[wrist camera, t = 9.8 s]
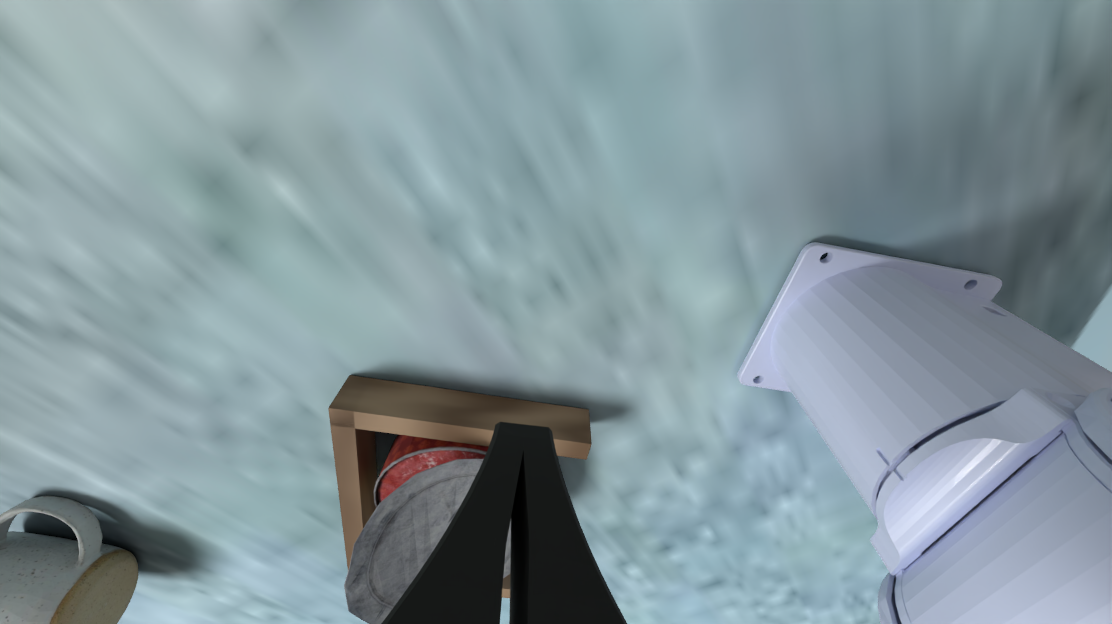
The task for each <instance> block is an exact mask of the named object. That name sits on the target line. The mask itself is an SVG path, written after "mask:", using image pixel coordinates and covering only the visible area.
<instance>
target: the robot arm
mask: <svg viewBox="0 0 1112 624" xmlns="http://www.w3.org/2000/svg"><path fill="white" fill-rule="evenodd" d="M825 253H828V255H827V256H826V257H825V258H824V259H822V260H820V257H821V256H822V255H823V254H825ZM968 281H969V282H968ZM967 282H968V283H967ZM966 283H967V284H966ZM965 284H966V285H965ZM1001 287H1002V281H1001V279H999V278H997V277H995V276H993V275H988V274H983V273H978V272H972V271H967V270H962V269H956V268H951V267H946V266H940V265H935V264H930V263H924V262H919V261H914V260H908V259H903V258H898V257H892V256H887V255H882V254H876V253H871V252H866V251H860V250H855V249H850V248H844V247H839V246H834V245H828V244H823V243H818V242H813V243H810V244H807V245H806V246H805V247H804V248H803V249H802V250H801V252H800V254H799V256H798V258H797V260H796V262H795V264H794V266H793V267H792V269H791V271H790V273H789V275H788V277H787V279H786V281H785V283H784V285H783V287H782V289H781V291H780V292H779V294H778V296H777V298H776V300H775V302H774V304H773V306H772V308H771V310H770V312H769V314H768V316H767V317H766V319H765V321H764V323H763V325H762V327H761V329H760V331H759V333H758V335H757V337H756V339H755V341H754V342H753V344H752V346H751V348H750V350H749V352H748V354H747V356H746V358H745V360H744V362H743V364H742V366H741V367H740V369H739V371H738V374H737V377H738V379H739V381H740V383H741V384H744V385H749V386H755V387H761V388H768V389H774V390H781V391H787V392H792V393H793V395H794V396H795V398H796V399H797V401H798V402H799V404H800V405H801V407H802V408H803V410H804V411H805V413H806V414H807V416H808V417H809V419H810V420H811V422H812V423H813V425H814V426H815V428H816V429H817V431H818V432H819V434H820V435H821V437H822V438H823V440H824V441H825V443H826V444H827V446H828V447H829V449H830V450H831V452H832V453H833V454H834V456H835V457H836V459H837V460H838V462H839V463H840V465H841V466H842V468H843V469H844V471H845V472H846V474H847V475H848V477H849V478H850V480H851V481H852V483H853V484H854V486H855V487H856V489H857V490H858V492H859V493H860V495H861V496H862V498H863V499H864V501H865V502H866V504H867V505H868V507H869V508H870V510H871V511H872V513H873V514H874V516H875V517H876V519H877V520H878V528H877V530H876V532H875V534H874V535H873V536H872V537H871V539H870V542H871V543H872V545H873V546H874V548H875V550H876V551H877V553H878V554H879V556H880V558H881V559H882V561H883V562H884V564H885V566H886V567H887V569H888V570H889V573H888V574H887V575H886V577H885V578H884V579H883V581H882V583H881V586H880V589H879V592H878V611H879V617H880V622H881V624H1112V372H1110V371H1108V370H1107V369H1105V368H1103V367H1102V366H1100V365H1098V364H1096V363H1095V362H1093V361H1091V360H1090V359H1088V358H1086V357H1085V356H1083V355H1081V354H1080V353H1078V352H1076V351H1074V350H1073V349H1071V348H1069V347H1068V346H1066V345H1064V344H1063V343H1061V342H1059V341H1058V340H1056V339H1054V338H1052V337H1051V336H1049V335H1047V334H1046V333H1044V332H1042V331H1041V330H1039V329H1037V328H1036V327H1034V326H1032V325H1030V324H1029V323H1027V322H1025V321H1024V320H1022V319H1020V318H1019V317H1017V316H1015V315H1014V314H1012V313H1010V312H1008V311H1007V310H1005V309H1003V308H1002V307H1000V306H998V305H997V304H995V303H993V302H992V301H991V300H992V299H993V298H994V296H995V295H996V294H997V293H998V292H999V290H1000V289H1001ZM757 376H759V377H758V378H756V379H754V378H755V377H757ZM510 521H511V554H510V623H509V624H627V623H626V621H625V619H624V617H623V615H622V613H621V611H620V609H619V608H618V606H617V604H616V602H615V600H614V598H613V596H612V594H611V592H610V590H609V588H608V586H607V584H606V582H605V580H604V578H603V576H602V574H601V572H600V570H599V568H598V565H597V563H596V561H595V559H594V557H593V554H592V552H591V550H590V548H589V545H588V543H587V541H586V538H585V536H584V533H583V531H582V529H581V526H580V524H579V521H578V518H577V516H576V513H575V510H574V508H573V505H572V502H571V499H570V496H569V493H568V491H567V488H566V485H565V482H564V478H563V475H562V472H561V468H560V465H559V461H558V457H557V453H556V449H555V444H554V439H553V433H552V430H551V429H550V428H549V427H543V426H534V425H525V424H516V423H507V422H499V423H497V424H495V428H494V433H493V436H492V439H491V442H490V445H489V448H488V450H487V453H486V455H485V457H484V460H483V462H482V464H481V466H480V469H479V471H478V473H477V475H476V477H475V479H474V481H473V483H472V485H471V487H470V489H469V491H468V493H467V495H466V496H465V498H464V500H463V502H462V504H461V505H460V507H459V509H458V511H457V512H456V514H455V516H454V518H453V519H452V521H451V523H450V524H449V526H448V528H447V530H446V531H445V533H444V534H443V536H442V538H441V539H440V541H439V542H438V544H437V546H436V547H435V549H434V550H433V552H432V553H431V555H430V556H429V558H428V559H427V561H426V562H425V564H424V565H423V567H422V568H421V570H420V571H419V573H418V574H417V576H416V577H415V578H414V580H413V581H412V583H411V584H410V585H409V587H408V588H407V590H406V591H405V592H404V594H403V595H402V597H401V598H400V599H399V601H398V602H397V603H396V605H395V606H394V608H393V609H392V610H391V612H390V613H389V614H388V616H387V617H386V618H385V620H384V621H383V622H382V623H381V624H500V612H501V600H502V587H503V575H504V563H505V551H506V543H507V537H508V532H509V526H510Z"/></svg>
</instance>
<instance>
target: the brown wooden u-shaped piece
mask: <svg viewBox="0 0 1112 624" xmlns="http://www.w3.org/2000/svg"><path fill="white" fill-rule="evenodd" d="M329 417H330V425H331V433H332V441H333V450H334V458H335V466H336V475H337V483H338V491H339V499H340V508H341V516H342V524H343V532H344V541H345V549H346V557H347V566H348V570H349V567H350V562H351V557H352V552H353V546H354V543H355V542H356V540H357V538H358V537H359V535H360V533H361V532H362V530H363V528H364V527H365V525H366V523H367V522H368V520H369V519H370V517H371V515H372V514H373V512H374V511H375V509H376V506H375V503H374V488H375V484H376V481H377V466H376V445H375V431H377V432H385V433H392V434H399V435H407V436H414V437H422V438H429V439H437V440H444V441H452V442H459V443H467V444H474V445H481V446H489V445H490V442H491V439H492V436H493V433H494V428H495V424H497V423H499V422H507V423H516V424H525V425H534V426H543V427H549V428H550V429H551V430H552V433H553V439H554V444H555V449H556V453H557V456H563V457H571V458H578V459H587V456H588V453H589V450H590V447H591V431H590V418H589V410H588V409H581V408H574V407H567V406H560V405H553V404H547V403H540V402H533V401H526V400H519V399H512V398H505V397H498V396H491V395H484V394H477V393H470V392H463V391H457V390H450V389H443V388H436V387H429V386H422V385H415V384H408V383H401V382H394V381H387V380H380V379H374V378H367V377H360V376H353V375H349V377H348V378H347V380H346V382H345V383H344V385H343V386H342V388H341V389H340V391H339V392H338V394H337V396H336V397H335V399H334V400H333V402H332V403H331V405H330V406H329ZM502 597H503V598H510V574H509V575H507V576H506V577H505V578H503V587H502Z"/></svg>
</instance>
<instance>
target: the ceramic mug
mask: <svg viewBox="0 0 1112 624" xmlns="http://www.w3.org/2000/svg"><path fill="white" fill-rule="evenodd" d="M27 511H28V512H32V511H33V512H39V513H44V514H48V515H51V516H54V517H56V518H58V519H60V520H61V521H63V522H64V523H66V524H67V525H68V526H70V527H71V528H72V530H73V531H74V533H75V534H76V537H77V539H78V541H75V540H70V539H65V538H60V537H53V536H46V535H39V534H33V533H26V532H14V531H12V532H8V529H9V527H10V525H11V523H12V521H13V519H14V518H15V516H16V515H17V514H19V513H22V512H27ZM102 537H103V536H102V532H101V528H100V525H99V521H98V519H97V518H96V516H95V515H94V514H93V513H92V511H91V510H89V509H88V508H87V507H85V506H83V505H81V504H80V503H79V502H77V501H74V500H71V499H68V498H63V497H57V496H41V497H35V498H32V499H29V500H26V501H24V502H23V503H21V504H19V505H17V506H15V507H13V508H11V509H10V510H8V511H6V512H4V513H3V514H1V515H0V624H117V623H118V621H119V620H120V618H121V616H122V615H123V613H124V612H125V610H126V608H127V606H128V604H129V602H130V600H131V598H132V595H133V593H134V590H135V587H136V584H137V580H138V563H137V561H136V558H135V557H134V555H133V554H132V553H131V552H129V551H127V550H124V549H122V548H119V547H116V546H112V545H107V544H102Z"/></svg>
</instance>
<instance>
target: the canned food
mask: <svg viewBox="0 0 1112 624" xmlns="http://www.w3.org/2000/svg"><path fill="white" fill-rule="evenodd" d="M488 448H489V446H481V445H474V444H467V443H459V442H452V441H444V440H437V439H429V438H422V437H414V436H407V435H399V434H398V436H397V437H396V439H395V440H394V442H393V445H392V447H391V449H390V452H389V454H388V456H387V459H386V461H385V463H384V466H383V468H382V471H381V473H380V475H379V477H378V479H377V481H376V484H375V488H374V503H375V506H376V509H375V511H374V512H373V514H372V515H371V517H370V519H369V520H368V522H367V523H366V525H365V527H364V528H363V530H362V532H361V533H360V535H359V537H358V538H357V540H356V542H355V543H354V546H353V552H352V557H351V562H350V567H349V570H348V574H347V577H346V581H345V584H344V587H345V593H346V599H347V605H348V610H349V612H351V613H352V614H354V615H355V616H357V617H358V618H360V619H361V620H363V621H365V622H367V623H369V624H381V623H382V622H383V621H384V620H385V618H386V617H387V616H388V614H389V613H390V612H391V610H392V609H393V608H394V606H395V605H396V603H397V602H398V601H399V599H400V598H401V597H402V595H403V594H404V592H405V591H406V590H407V588H408V587H409V585H410V584H411V583H412V581H413V580H414V578H415V577H416V576H417V574H418V573H419V571H420V570H421V568H422V567H423V565H424V564H425V562H426V561H427V559H428V558H429V556H430V555H431V553H432V552H433V550H434V549H435V547H436V546H437V544H438V542H439V541H440V539H441V538H442V536H443V534H444V533H445V531H446V530H447V528H448V526H449V524H450V523H451V521H452V519H453V518H454V516H455V514H456V512H457V511H458V509H459V507H460V505H461V504H462V502H463V500H464V498H465V496H466V495H467V493H468V491H469V489H470V487H471V485H472V483H473V481H474V479H475V477H476V475H477V473H478V471H479V469H480V466H481V464H482V462H483V460H484V457H485V455H486V453H487V450H488ZM510 554H511V521H510V526H509V532H508V537H507V543H506V551H505V563H504V575H503V578H505V577H506V576H507V575H509V574H510Z"/></svg>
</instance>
